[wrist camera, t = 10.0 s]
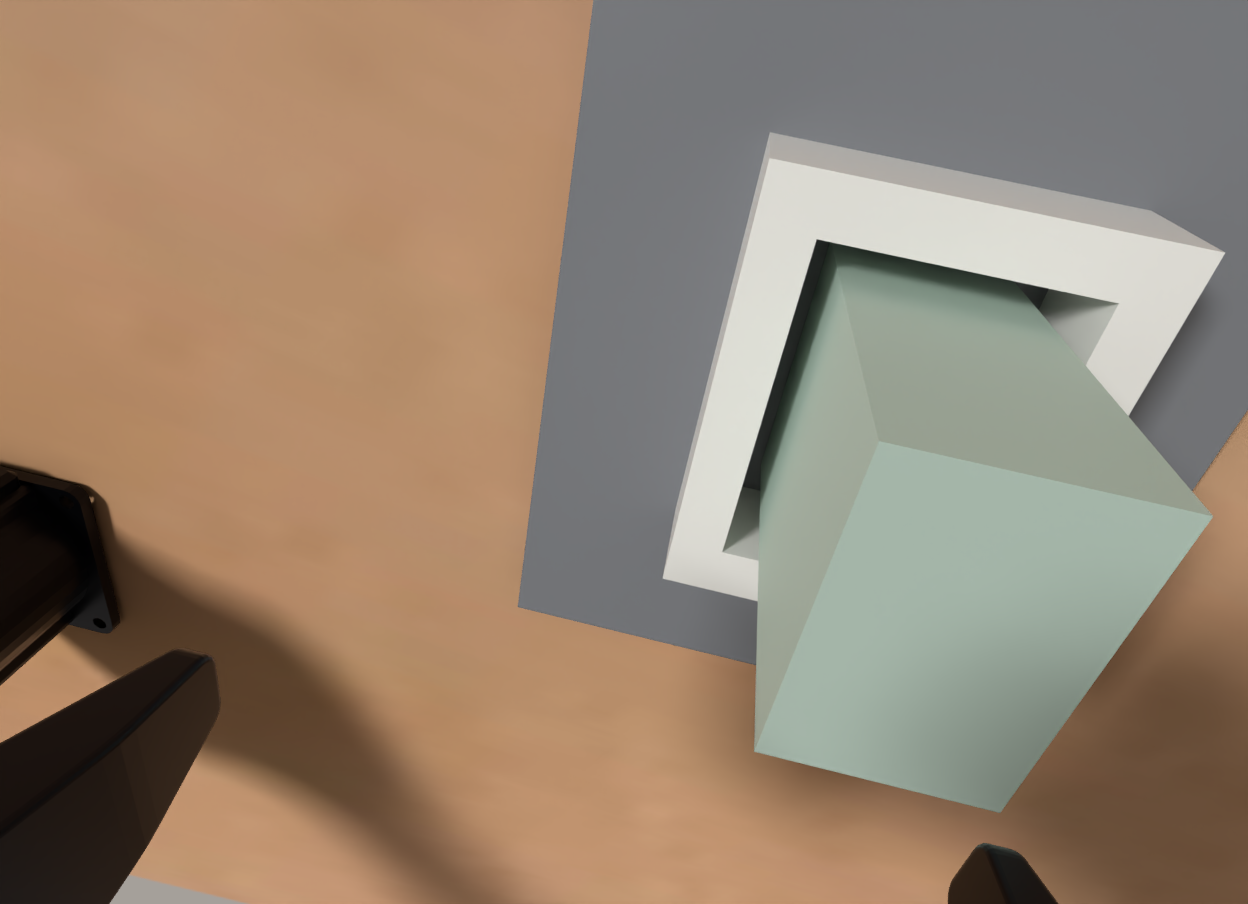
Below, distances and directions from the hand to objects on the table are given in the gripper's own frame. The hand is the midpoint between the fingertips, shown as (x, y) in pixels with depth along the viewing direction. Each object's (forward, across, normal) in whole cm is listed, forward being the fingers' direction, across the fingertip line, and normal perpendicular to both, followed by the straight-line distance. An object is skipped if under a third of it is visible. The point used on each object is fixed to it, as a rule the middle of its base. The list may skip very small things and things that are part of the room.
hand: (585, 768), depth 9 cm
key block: (+12, -5, -1) cm, 13 cm away
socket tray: (+12, -5, -1) cm, 13 cm away
